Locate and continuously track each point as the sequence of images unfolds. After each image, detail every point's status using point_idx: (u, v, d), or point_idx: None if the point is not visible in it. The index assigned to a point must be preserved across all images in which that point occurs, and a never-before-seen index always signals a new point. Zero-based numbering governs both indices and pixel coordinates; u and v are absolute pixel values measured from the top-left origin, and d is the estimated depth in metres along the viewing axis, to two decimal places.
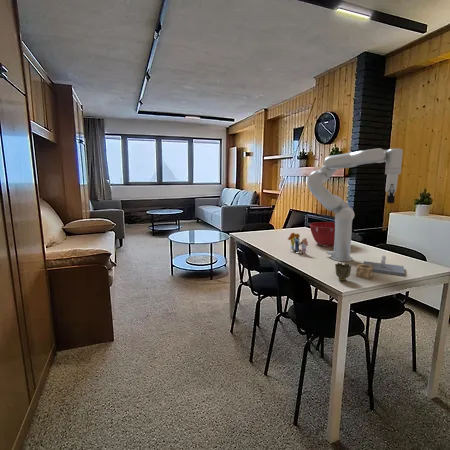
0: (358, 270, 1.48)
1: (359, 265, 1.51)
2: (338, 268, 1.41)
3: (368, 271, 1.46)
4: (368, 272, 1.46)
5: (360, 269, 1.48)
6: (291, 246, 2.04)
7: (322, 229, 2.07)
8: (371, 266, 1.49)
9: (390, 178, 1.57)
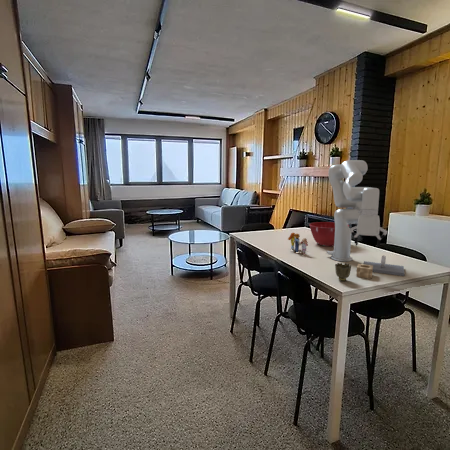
0: (358, 270, 1.48)
1: (359, 265, 1.51)
2: (338, 268, 1.41)
3: (368, 271, 1.46)
4: (368, 272, 1.46)
5: (360, 269, 1.48)
6: (291, 246, 2.04)
7: (322, 229, 2.07)
8: (371, 266, 1.49)
9: (379, 221, 1.43)
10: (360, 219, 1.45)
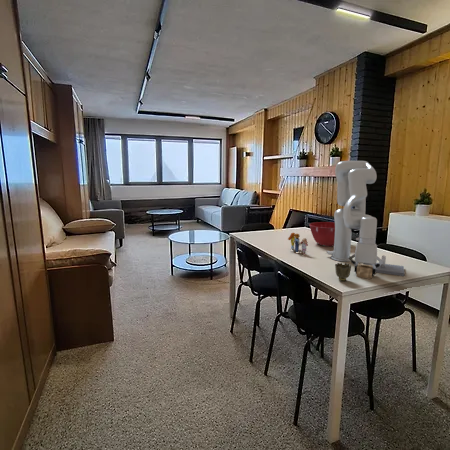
0: (358, 270, 1.48)
1: (359, 265, 1.51)
2: (338, 268, 1.41)
3: (368, 271, 1.46)
4: (368, 272, 1.46)
5: (360, 269, 1.48)
6: (291, 246, 2.04)
7: (322, 229, 2.07)
8: (371, 266, 1.49)
9: (376, 249, 1.45)
10: (358, 247, 1.48)
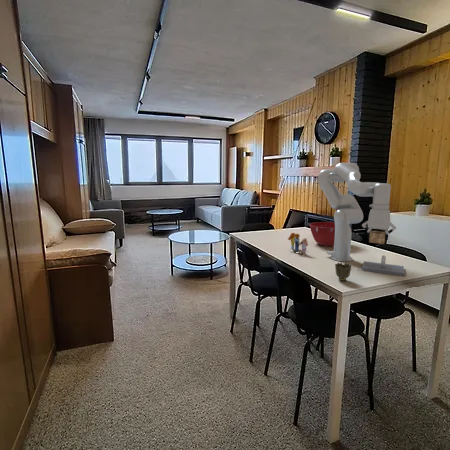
0: (371, 236, 1.52)
1: (372, 232, 1.54)
2: (338, 268, 1.41)
3: (381, 236, 1.49)
4: (381, 237, 1.49)
5: (373, 235, 1.51)
6: (291, 246, 2.04)
7: (322, 229, 2.07)
8: (384, 232, 1.52)
9: (389, 215, 1.48)
10: (371, 213, 1.51)
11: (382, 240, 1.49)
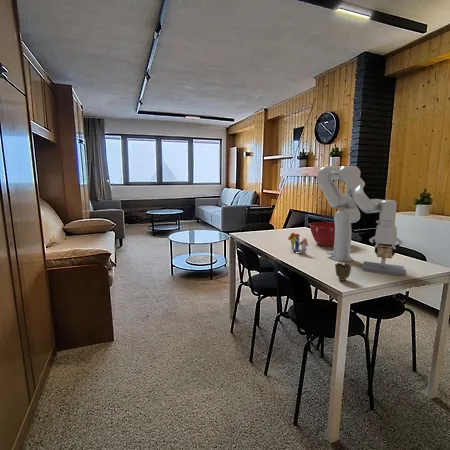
0: (378, 251, 1.57)
1: (379, 246, 1.60)
2: (338, 268, 1.41)
3: (388, 251, 1.54)
4: (388, 252, 1.54)
5: (380, 250, 1.56)
6: (291, 246, 2.04)
7: (322, 229, 2.07)
8: (391, 247, 1.58)
9: None
10: (378, 229, 1.56)
11: (390, 255, 1.54)
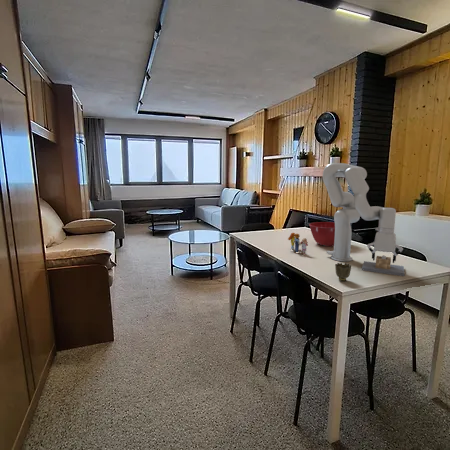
0: (377, 261, 1.58)
1: (378, 257, 1.61)
2: (338, 268, 1.41)
3: (387, 262, 1.56)
4: (387, 263, 1.56)
5: (379, 260, 1.57)
6: (291, 246, 2.04)
7: (322, 229, 2.07)
8: (389, 258, 1.59)
9: None
10: (377, 236, 1.57)
11: (388, 266, 1.55)
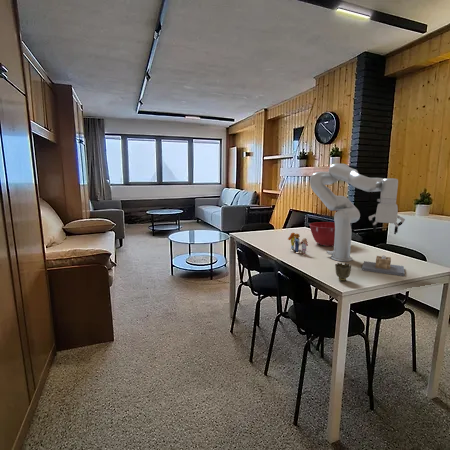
0: (377, 261, 1.58)
1: (378, 257, 1.61)
2: (338, 268, 1.41)
3: (387, 262, 1.56)
4: (387, 263, 1.56)
5: (379, 260, 1.57)
6: (291, 246, 2.04)
7: (322, 229, 2.07)
8: (389, 258, 1.59)
9: None
10: (379, 207, 1.55)
11: (388, 266, 1.55)
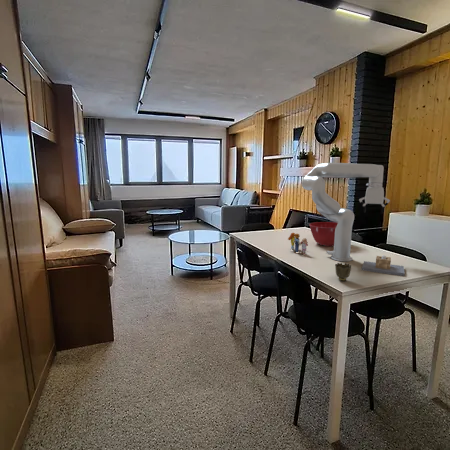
0: (377, 261, 1.58)
1: (378, 257, 1.61)
2: (338, 268, 1.41)
3: (387, 262, 1.56)
4: (387, 263, 1.56)
5: (379, 260, 1.57)
6: (291, 246, 2.04)
7: (322, 229, 2.07)
8: (389, 258, 1.59)
9: None
10: (368, 190, 1.79)
11: (388, 266, 1.55)
